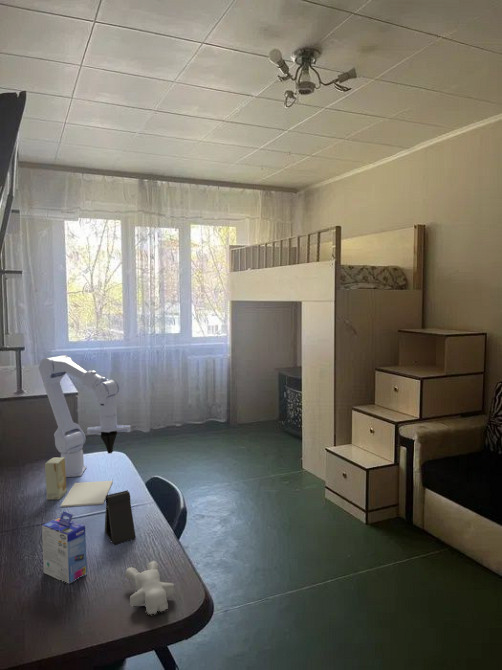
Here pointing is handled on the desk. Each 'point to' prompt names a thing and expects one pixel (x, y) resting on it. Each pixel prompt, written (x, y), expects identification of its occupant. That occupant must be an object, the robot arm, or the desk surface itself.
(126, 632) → the desk surface
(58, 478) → the skincare box
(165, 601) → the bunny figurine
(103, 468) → the desk surface
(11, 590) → the desk surface
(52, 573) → the ink cartridge box
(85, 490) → the mat
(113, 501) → the phone stand
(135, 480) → the desk surface
